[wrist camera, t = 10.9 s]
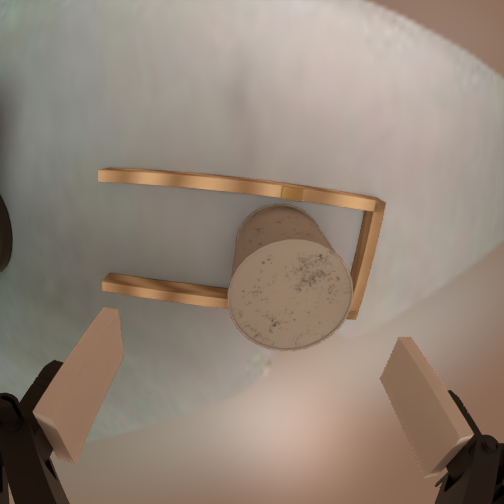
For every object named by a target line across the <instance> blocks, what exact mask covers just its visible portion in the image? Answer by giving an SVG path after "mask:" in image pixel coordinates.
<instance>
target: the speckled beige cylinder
mask: <svg viewBox="0 0 504 504" xmlns="http://www.w3.org/2000/svg"><path fill="white" fill-rule="evenodd" d="M353 294H354V292H353V281H352V278H351V275H350V272H349V269H348V268H347V266H346V265H345V263H344V262H343V260H342V259H341V258H340V257H339V256H338V255H337V254H336V252H335V251H334V249H333V248H332V247H331V245H330V244H329V242H328V241H327V239H326V238H325V237H324V235H323V234H322V232H321V231H320V229H319V227H318V225H317V224H316V222H315V221H314V220H313V218H312V217H311V216H310V215H309V214H307V213H306V212H305V211H304V210H302V209H300V208H298V207H296V206H292V205H288V204H273V205H268V206H265V207H263V208H260V209H258V210H256V211H255V212H254V213H252V214H251V215H250V216H249V217H248V218H247V219H246V220H245V221H244V222H243V224H242V226H241V228H240V230H239V232H238V235H237V239H236V250H235V257H234V263H233V269H232V276H231V280H230V284H229V289H228V293H227V296H228V309H229V312H230V315H231V318H232V320H233V322H234V324H235V325H236V327H237V329H238V330H239V331H240V332H241V333H242V334H243V335H244V336H245V337H246V338H248V339H249V340H251V341H252V342H254V343H255V344H257V345H260V346H262V347H265V348H267V349H272V350H278V351H296V350H301V349H306V348H309V347H311V346H314V345H316V344H319V343H321V342H322V341H324V340H326V339H327V338H329V337H330V336H331V335H332V334H333V333H334V332H336V331H337V330H338V329H339V328H340V326H341V325H342V323H343V322H344V321H345V319H346V318H347V316H348V313H349V311H350V308H351V306H352V300H353Z"/></svg>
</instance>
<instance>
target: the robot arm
mask: <svg viewBox="0 0 504 504" xmlns="http://www.w3.org/2000/svg"><path fill="white" fill-rule="evenodd" d="M11 249H12V233H11V226H10V221H9V217H8V213H7V210H6V208H5V205H4V203H3V201H2V199H1V197H0V272H1V271H3V270H4V268H5V267H6V266H7V264H8V262H9V259H10V255H11ZM123 357H124V354H123V345H122V337H121V327H120V317H119V310H118V309H113V308H107V307H103V309H102V310H101V311H100V313H99V314H98V315H97V317H96V318H95V319H94V321H93V322H92V323H91V325H90V326H89V328H88V329H87V330H86V332H85V333H84V335H83V336H82V337H81V339H80V340H79V342H78V343H77V344H76V346H75V347H74V349H73V350H72V352H71V353H70V355H69V356H68V358H67V359H66V360H65V362H64V363H63V362H59V361H56V360H53V361H52V362H50V363H49V364H47V365H46V366H44V368H43V369H42V371H41V372H40V373H39V375H38V377H37V378H36V379H35V381H34V383H33V384H32V385H31V386H30V388H29V389H28V391H27V392H26V394H25V395H24V397H23V398H22V400H21V401H20V403H19V401H18V399H17V398H16V397H15V396H14V395H12V394H9V393H0V504H9V492H8V483H9V486H10V490H11V493H12V496H13V499H14V502H15V504H70V503H69V501H68V499H67V497H66V495H65V492H64V490H63V488H62V485H61V483H60V481H59V478H58V476H57V473H56V471H55V468H54V466H53V463H52V461H51V459H50V455H51V453H52V451H54V452H55V454H56V456H57V457H58V458H60V459H62V460H65V461H68V462H70V463H73V464H76V462H77V460H78V457H79V454H80V452H81V450H82V448H83V445H84V443H85V440H86V438H87V436H88V433H89V431H90V429H91V426H92V424H93V422H94V420H95V417H96V415H97V413H98V411H99V408H100V406H101V404H102V402H103V400H104V397H105V395H106V393H107V391H108V389H109V387H110V385H111V382H112V380H113V378H114V376H115V374H116V372H117V370H118V368H119V366H120V364H121V362H122V360H123ZM380 380H381V382H382V384H383V386H384V388H385V390H386V393H387V394H388V397H389V399H390V401H391V403H392V405H393V408H394V409H395V412H396V414H397V416H398V419H399V421H400V423H401V425H402V427H403V430H404V432H405V434H406V437H407V439H408V441H409V444H410V446H411V448H412V451H413V453H414V455H415V458H416V460H417V462H418V465H419V467H420V470H421V472H422V475H423V477H424V478H428V477H432V476H435V475H438V474H439V473H440V472H441V471H442V470H443V469H444V468H445V467H446V468H447V470H448V472H447V474H445V475H444V476H443V477H442V478H441V479H440V480H439V481H438V482H437V483H436V485H435V487H437V486H438V485H439V484H440V483H441V482H442V485H441V487H440V490H439V493H438V496H437V499H436V501H435V504H504V443H498V441H497V440H496V439H495V438H494V437H492V436H490V435H482V434H481V432H480V431H479V429H478V427H477V426H476V424H475V422H474V421H473V419H472V418H471V416H470V414H469V413H467V410H466V408H465V407H463V403H462V402H461V400H460V399H459V397H458V396H457V395H455V394H454V393H453V392H452V391H451V390H449V391H447V389H446V388H445V386H444V385H443V384H442V382H441V380H440V379H439V377H438V376H437V374H436V373H435V371H434V370H433V368H432V367H431V365H430V364H429V363H428V361H427V359H426V358H425V356H424V355H423V354H422V352H421V351H420V349H419V348H418V346H417V345H416V343H415V342H414V341H413V339H412V338H411V337H398V340H397V342H396V345H395V347H394V349H393V351H392V353H391V356H390V358H389V360H388V362H387V365H386V367H385V369H384V371H383V373H382V375H381V377H380Z"/></svg>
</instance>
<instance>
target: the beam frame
mask: <svg viewBox="0 0 504 504" xmlns="http://www.w3.org/2000/svg"><path fill="white" fill-rule="evenodd" d="M98 181H99V182H118V183H134V184H149V185H162V186H175V187H186V188H197V189H208V190H218V191H227V192H236V193H245V194H254V195H262V196H270V197H278V198H281V199H285V200H293V201H300V202H302V201H308V202H315V203H322V204H328V205H335V206H341V207H348V208H354V209H360V210H365V213H364V217H363V222H362V227H361V232H360V236H359V241H358V245H357V250H356V254H355V258H354V262H353V267H352V271H351V278H352V281H353V292H354V294H353V300H352V306H351V308H350V311H349V313H348V316H347V318H346V319H352V320H356V318H357V315H358V311H359V308H360V305H361V301H362V298H363V294H364V291H365V287H366V284H367V280H368V277H369V273H370V269H371V265H372V261H373V257H374V253H375V249H376V245H377V241H378V237H379V232H380V228H381V224H382V219H383V214H384V209H385V205H386V202H384V201H382V200H380V199H378V198H375V197H370V196H364V195H359V194H353V193H347V192H341V191H335V190H329V189H323V188H316V187H310V186H303V185H296V184H289V183H281V182H274V181H266V180H258V179H249V178H240V177H231V176H221V175H211V174H200V173H189V172H176V171H162V170H146V169H127V168H105V169H101V170H99V171H98ZM102 291H107V292H113V293H119V294H125V295H131V296H137V297H144V298H151V299H157V300H164V301H171V302H178V303H186V304H193V305H201V306H209V307H217V308H226V309H228V296H227V293H228V289H226V288H217V287H209V286H201V285H193V284H185V283H177V282H170V281H162V280H155V279H147V278H140V277H133V276H126V275H120V274H113V273H109V274H108V275H107V276H106V277H105V278H104V279H103V281H102Z"/></svg>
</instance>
